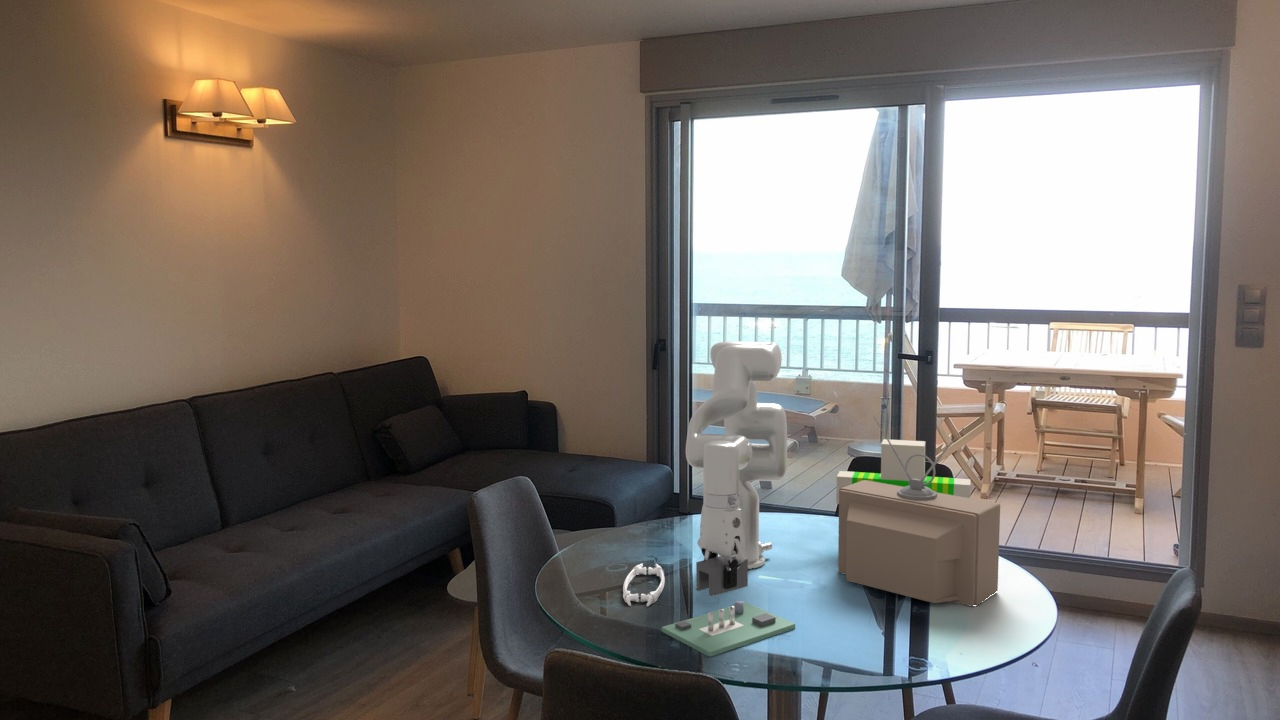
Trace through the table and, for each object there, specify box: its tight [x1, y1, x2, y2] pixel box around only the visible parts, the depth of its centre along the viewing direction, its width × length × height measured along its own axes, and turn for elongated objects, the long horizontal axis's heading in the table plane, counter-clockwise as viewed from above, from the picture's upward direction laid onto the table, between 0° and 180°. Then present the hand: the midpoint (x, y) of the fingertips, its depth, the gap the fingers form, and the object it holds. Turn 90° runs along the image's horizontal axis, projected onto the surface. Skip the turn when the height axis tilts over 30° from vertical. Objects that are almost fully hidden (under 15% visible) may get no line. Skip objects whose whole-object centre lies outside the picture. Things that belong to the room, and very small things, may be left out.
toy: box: [835, 438, 971, 505], centre depth 250 cm, size 34×7×30 cm, turn 71°
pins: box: [707, 604, 735, 632], centre depth 199 cm, size 7×1×4 cm, turn 126°
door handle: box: [622, 563, 666, 607], centre depth 227 cm, size 3×10×25 cm
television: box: [837, 416, 1001, 607], centre depth 224 cm, size 36×20×40 cm, turn 47°
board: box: [661, 600, 796, 658], centre depth 201 cm, size 24×16×3 cm, turn 126°
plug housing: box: [695, 556, 749, 597], centre depth 198 cm, size 10×5×6 cm, turn 126°
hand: (721, 583), depth 198 cm, fingers closed on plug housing, 5 cm apart
